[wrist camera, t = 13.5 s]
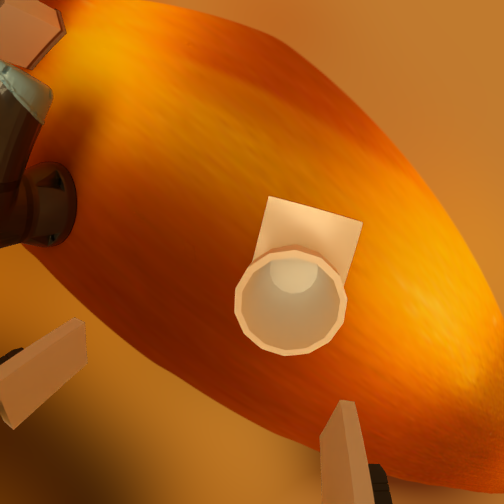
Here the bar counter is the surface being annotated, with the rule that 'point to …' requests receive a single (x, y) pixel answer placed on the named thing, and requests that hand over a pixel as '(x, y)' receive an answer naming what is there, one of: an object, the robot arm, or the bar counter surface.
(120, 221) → the bar counter surface
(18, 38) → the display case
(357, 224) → the tile
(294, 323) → the foam cup
